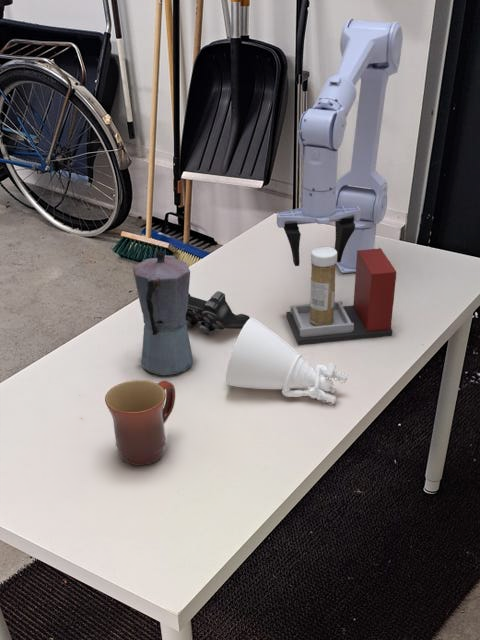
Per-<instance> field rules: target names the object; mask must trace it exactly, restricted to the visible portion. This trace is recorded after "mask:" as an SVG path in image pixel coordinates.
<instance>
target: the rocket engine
mask: <svg viewBox="0 0 480 640" xmlns="http://www.w3.org/2000/svg"><path fill="white" fill-rule="evenodd" d="M227 364H228V365H227V369H226V374H225V383H226V385H227V386H231V387H237V388H244V389H255V390H256V389H257V390H281V393H282V395H283V396H284V397H287V398H292V397H293V398H301V397H306V396H307V397H308V396H309V397H310V398H311V399H316V400H318V401H322V402H323V403H328V405H334V404H335V402H336V399H337V396H336V395H334V394H333V393H335V391H336V389H335V384H334V381H335V382H337V381H338V382H339V383H340V384H343V383H344V384H345V383H346V382H347V380H348V377H349V375H348V374H345V373H343V372H340V371H339V370H338V371H337V370H336V368H337V364H335V363H334V362H331V361H329V363H328V365H327V366H325V364H316V365H315V366H314V368H313V367H312V366H311V364H309V362H307V361H306V359H305V358H304V357H303V354H302V353H299V352H298V351H296V350H295V349H294V348H293V347H292V346H291V345H290V344H289V343H288V342H287V341H285V340H284V339H283V338H282V337H280V336H279V335H278V334H277V333H276V332H274V331H273V330H272V329H271V328H269V327H267V326H266V325H265V324H263V323H261V321H259V320H257V319H255V318H253V317H250V319H249V320H248V321H247V322H246V323H245V325H244V326H243V328H242V329H241V330H240V332H239V334H238V336H237V338H236V340H235V343H234V346H233V347H232V351H231V353H230V358H229V360H228V363H227ZM333 380H334V381H333ZM304 388H307V390H306V389H305V390H302V389H304ZM308 388H309V389H308ZM328 392H330V393H328Z"/></svg>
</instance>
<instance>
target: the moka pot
mask: <svg viewBox="0 0 480 640" xmlns="http://www.w3.org/2000/svg"><path fill="white" fill-rule="evenodd" d="M155 255H156V257H152V258H146V259H144V260H142V261H140V262H137V263H136V264H135V265H133V266H132V272H133V276H134V281H135V286H136V290H137V295H138V300H139V306H140V309H141V313H142V318H143V319H142V321H143V324H144V325H143V334H142V335H143V336H142V350H141V351H142V352H141V366H142V368H143V369H144V370H145V371H147V372H148V373H151V374H154V375H158V376H171V375H176V374H180V373H182V372H183V373H184V372H185V371H187V370H189V369H190V368H191V367H192V365H193V361H194V359H193V353H192V346H191V342H190V335H189V331H188V328H187V324H186V322H185V321H186V313H187V309H188V294H190V292H189V291H190V283H191V282H190V280H191V270H190V267H189V265H188V263H187V261H185V260H181V259H177V258H176V257H175V255H167V254H166V251H163V250H157V251H156V252H155Z"/></svg>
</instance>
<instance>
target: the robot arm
mask: <svg viewBox="0 0 480 640" xmlns="http://www.w3.org/2000/svg"><path fill="white" fill-rule="evenodd" d="M403 36H404V35H403V28H402V26H401V24H400V22H399V21H394V22H389V21H376V20H375V21H374V20H360V19H359V20H358V19H353V18H348V19H347V20H346V22H345V23H344V24H343V27H342V29H341V34H340V39H339V48H340V54H341V59H340V62H339V64H338V67H337V71H336V73H335V75H331V76H330V77H328V78H327V79H326V80H325V82H324V84H323V85H322V88H321V90H320V92H319V94H318V96H317V98H316V100H315V102H314V104H313V106H312V108H308V109H307V110H306V111H303V113H302V114H301V116H300V119H299V122H298V131H297V140H298V144H299V148H300V159H301V158H302V160H303V161H302V163H303V165H302V205H301V207H299V208H294V209H292V210H291V209H290V210H287V211H281V212H276V225H277V227H278V228H279V229H282V228H283V230H284V232H285V235H286V237H287V240H288V243H289V246H290V249H291V255H292V263H293V264H294V266H295V267H300V245H301V244H300V243H301V235H302V233H301V232H300V227H299V226H300V225H308V224H309V225H310V224H317V225H326V224H329V223H332V222H334V224H335V225H334V228H335V241H334V242H335V243H334V249H335V250H336V251H337V263H336V267H337V268H338V270H339V271H340V273H341V274H348V273H349V274H350V273H351V274H352V273H356V260H357V250H368V249H375V246H376V233H377V225H379V224H380V223H381V222H382V221H383V220H384V218H385V215H386V212H387V207H388V182H387V181H386V180H385V178H384V177H383V176H382V175H381V174H380V173H378V171H377V170H376V168H377V160H378V154H379V153H378V152H379V147H380V138H381V129H382V123H383V114H384V108H385V107H384V106H385V99H386V92H387V85H388V81H389V77H390V76H392V75H394V74H397V73H398V70H399V66H400V64H401V63H400V62H401V56H402V47H403V40H404V37H403ZM359 80H360V84H359V85H360V87H359V93H358V94H359V95H358V103H357V112H356V120H355V121H356V122H355V129H354V139H353V146H352V156H351V164H350V169H349V170H348V171H346V172H345V173H344V174H342V175H340V177H338V159H339V158H338V157H339V149H340V147H341V145H342V144H343V141H344V136H345V130H346V128H347V123H348V122H347V118H348V116H349V113H350V111H351V109H352V107H353V105H354V103H355V101H356V98H357V88H356V85H357V84H358V82H359ZM298 225H299V226H298Z"/></svg>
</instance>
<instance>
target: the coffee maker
mask: <svg viewBox="0 0 480 640" xmlns="http://www.w3.org/2000/svg"><path fill="white" fill-rule="evenodd" d="M354 276H355V277H354V290H353V294H354V295H353V304H352V305H343V301H342V300H336V301H334V315H333V317H334V321H333V323H332V324H331V325H325V326H315V325H313V324H311V323H310V320H309V319H310V303H306V304H296V305H289V306H290V307H289V308H290V309H289V310H290V311H286V312H285V317H286V320H287V321H288V325H289V327H290V329H291V332H292V335H293V336H294V339H295V341H296V344H297V346H303V345H304V346H305V345H312V344H314V345H315V344H324V343H333V342H334V343H335V342H342V341H352V340H353V341H354V340H364V339H373V338H374V339H375V338H383V337H393V329H392V320H393V311H394V310H393V309H394V301H395V291H396V282H397V281H396V280H397V270H396V269H395V267H394V266H393V265H392V263H391V262H390V260H389V258H388V257H387V255H386V254H385V252H384V251H383V249H382V248H374V249H368V250H357V260H356V272H355V275H354Z"/></svg>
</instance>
